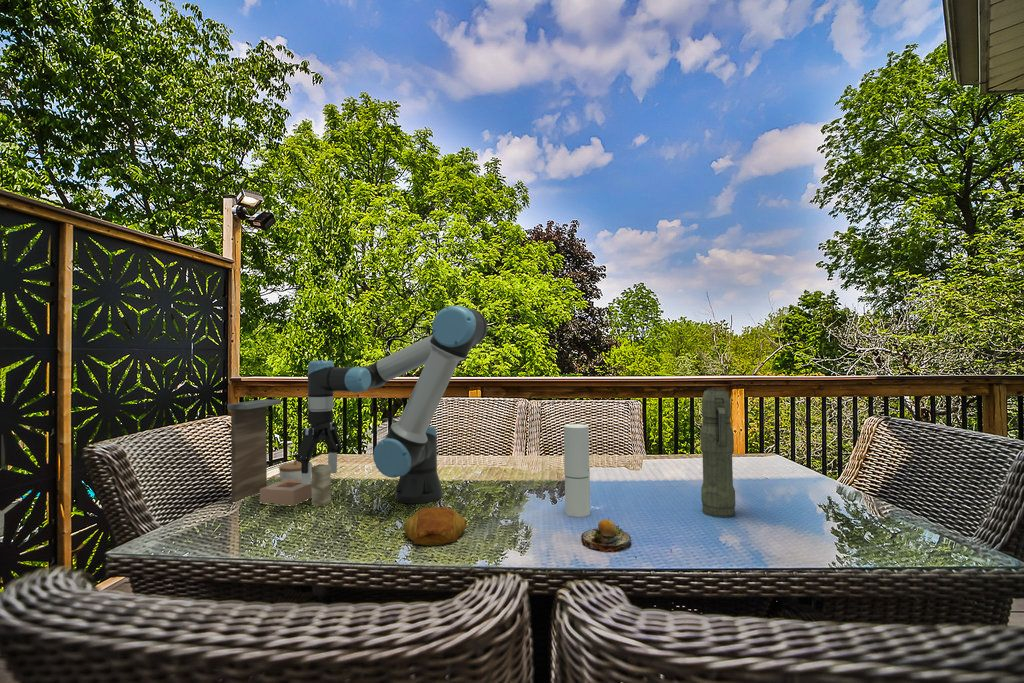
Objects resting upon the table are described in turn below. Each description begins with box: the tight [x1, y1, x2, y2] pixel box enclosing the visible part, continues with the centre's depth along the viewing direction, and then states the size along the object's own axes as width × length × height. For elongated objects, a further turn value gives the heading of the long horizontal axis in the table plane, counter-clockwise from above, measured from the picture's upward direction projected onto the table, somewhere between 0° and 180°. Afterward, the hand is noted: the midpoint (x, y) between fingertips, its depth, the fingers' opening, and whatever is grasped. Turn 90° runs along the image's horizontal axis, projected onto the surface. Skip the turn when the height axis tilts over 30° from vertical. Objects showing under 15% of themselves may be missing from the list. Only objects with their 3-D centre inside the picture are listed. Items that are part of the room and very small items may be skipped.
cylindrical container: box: [563, 423, 591, 518], centre depth 146 cm, size 7×7×25 cm
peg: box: [311, 463, 332, 507], centre depth 158 cm, size 4×4×12 cm
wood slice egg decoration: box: [580, 518, 632, 553], centre depth 123 cm, size 12×12×8 cm
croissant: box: [404, 506, 468, 546], centre depth 129 cm, size 14×16×8 cm
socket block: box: [259, 479, 312, 506], centre depth 163 cm, size 12×12×5 cm
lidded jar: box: [278, 459, 313, 481], centre depth 180 cm, size 11×11×9 cm
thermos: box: [699, 388, 736, 518], centre depth 145 cm, size 9×12×35 cm
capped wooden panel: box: [226, 399, 282, 503], centre depth 166 cm, size 7×16×32 cm, turn 167°
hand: (320, 478), depth 158 cm, fingers open, 13 cm apart
